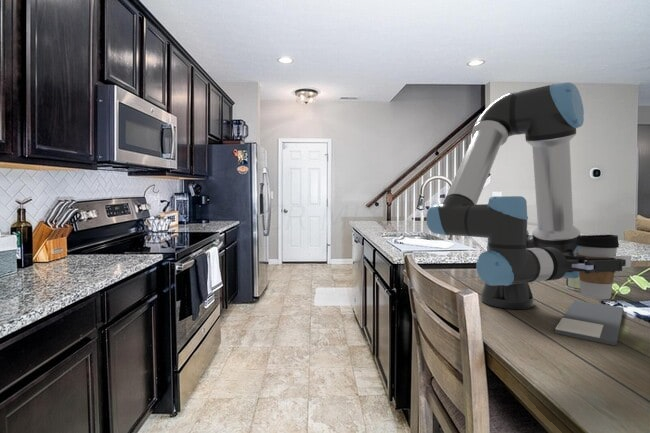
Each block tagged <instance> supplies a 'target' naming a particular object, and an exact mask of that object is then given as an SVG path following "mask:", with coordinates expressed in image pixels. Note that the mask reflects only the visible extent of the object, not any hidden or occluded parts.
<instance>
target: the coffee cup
mask: <svg viewBox="0 0 650 433" xmlns="http://www.w3.org/2000/svg"><path fill="white" fill-rule="evenodd" d="M576 245H578V254H577V255H578V256H583V257H585V258H609V257H611V256H617V249H618V248H620V242H619V236H618V235H616V234H593V235H592V234H587V235H586V234H583V235H581V234H580V236H578V237H577V241H576ZM578 261H579V259H578ZM579 277H580V290H581V291H580V295H581V296H583V297H585V298H586V297H587V298H591V299H595V300H596V299H597V300H610V299H611V298H612V291H613V285H614V279H615V273H614V272H594V273H589V274H587V273H584V271H579Z"/></svg>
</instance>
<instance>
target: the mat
mask: <svg viewBox="0 0 650 433" xmlns="http://www.w3.org/2000/svg"><path fill="white" fill-rule="evenodd" d="M623 313H624V307H622V306H615V305H609V304H602V303H595V302H589V301H582V300H576V299H574V300H573V301H572V303H571V304H570V306H569V307H568V309H567V310H566V312H565V314H564V315H563V316H562V318H561V319H560V321H559V323H558V324H557V325H556V327H555V328H554V329H555V330H554V333H555V334H558V335H563V336H567V337H573V338H577V339H582V340H586V341H592V342H596V343H597V342H598V343H601V344H607V345H612V346H617V344H618V339H619V334H620V329H621V324H622V319H623Z"/></svg>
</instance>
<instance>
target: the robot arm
mask: <svg viewBox="0 0 650 433" xmlns="http://www.w3.org/2000/svg"><path fill="white" fill-rule="evenodd" d="M584 114H585V112H584V105H583V100H582V96H581V94H580V91H579V89H578V87H577V86H576V85H575V84H574V83H572V82H561V83H551V84H549V85H544V86H539V87H535V88H529V89H525V90H524V89H523V90H520V91H514V92H510V93H507V94H504V95H502V96H500V98H497V99H496V100H495V101H494V102H492V103H491V104H489V106H488V107H486V109H484V111H482V113H481V114H480V115H479V116H478V118H477V120H476V121H475V123H474V125H473V128H472V130H471V137H472V138H471V141H470V143H469V145H468V147H467V149H466V152H465V154H464V156H463V158H462V160H461V163H460V165H459V167H458V170H457V172H456V173H455V176H454V178H453V181H452V182H451V185H450V187H449V189H448V191H447V194H446V196H445V197H444V200H443V202H442V203H437V204H436V203H435V204H433V205H432V206H429V208H428V209H427V212H426V221H425V222H426V225H427V228H428V229H429V231H430V232H431V233H433V234H435V235H442V236H446V237H447V236H455V237H456V236H458V237H459V236H462V237H474V238H486V239H487V245H486V251H483V252H481V253H480V254H479V255H478V259H477V260H476V262H475V263H476V264H475V266H476V267H475V268H476V273H477V275H478V277H479V279H480V280H481V281H482V282H483V283H484V285H483V288H482V290H481V293H480V300H481V302H482V303H484V304H485V305H489V306H491V307H496V308H500V309H509V310H510V309H511V310H526V309H531V308H532V307H534V302H535V301H534V300H535V299H534V296H533V293H532V290H531V287H530V285H533V284H534V283H535V282H547V281H556V280H560V279H563V278H565V279H566V278H578V277H579V271H584V273H587V274H589V273H594V272H614V274H616V272H622V271H623V268H624V269H625V268H631V267H632V255H631V254H626V255H625V254H623V255H616V256H611V257H609V258H585V257H583V256H578V255H577V254H578V245H576V241H577V237H578V236H581V231H580V230H579V229H578V228H577V227H575V226H574V213H573V210H574V209H573V190H572V188H573V187H572V168H571V167H572V166H571V146H570V145H571V143H570V142H571V140H572V139H573V138H574V137H575V136H576V135H577V129H578V128H581V127H582V126H583V125H584V122H585V119H584V118H585V117H584ZM516 135H518V136H519V135H525V136H524V137H525V138H524V139H525V142H526V143H527V144H529V145H530V146H531V147H532V161H533V174H534V175H533V176H534V191H535V202H536V203H535V204H536V218H537V227H536V228H535V229H534V230H532V235H531V234H530V233H529V231H528V219H529V217H528V206H527V200H526V198H525V197H524V196H521V195H519V196H517V195H516V196H515V195H511V196H509V195H508V196H505V195H504V196H500V195H499V196H491V197H489V198H488V203H487V204H484V203H483V204H482V203H481V204H478V201H479V199H480V196H481V193H482V192H483V189H484V187H485V184H486V182H487V180H488V177H489V174H490V172H491V170H492V167H493V164H494V162H495V160H496V157H497V155H498V154H499V153H498V152H499V150H500V147H501V146H502V145H504V144H506V142H507V140H508V138H509V137H512V136H516ZM578 259H579V261H578Z"/></svg>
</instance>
